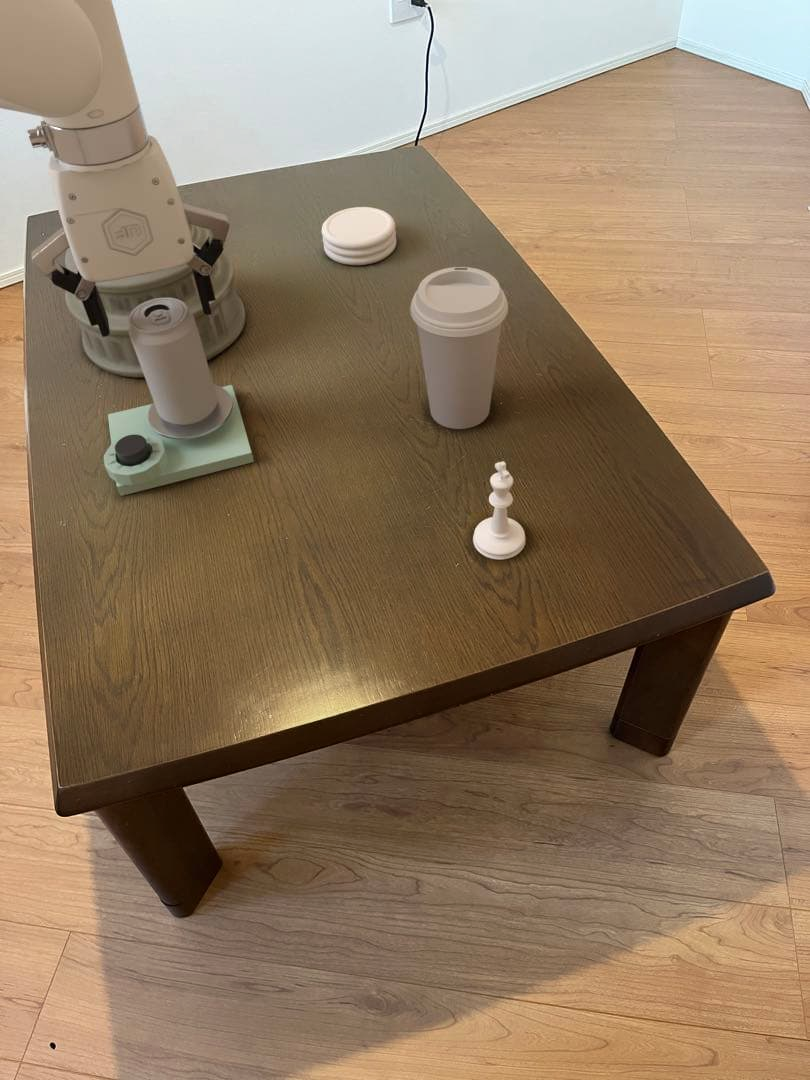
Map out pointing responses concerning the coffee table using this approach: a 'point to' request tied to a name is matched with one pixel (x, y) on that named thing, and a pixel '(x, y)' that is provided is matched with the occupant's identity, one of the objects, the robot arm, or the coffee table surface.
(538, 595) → the coffee table surface
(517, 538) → the chess piece
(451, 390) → the coffee cup
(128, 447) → the button
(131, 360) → the dome
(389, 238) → the coaster
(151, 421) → the plate
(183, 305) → the beverage can
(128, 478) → the scale
